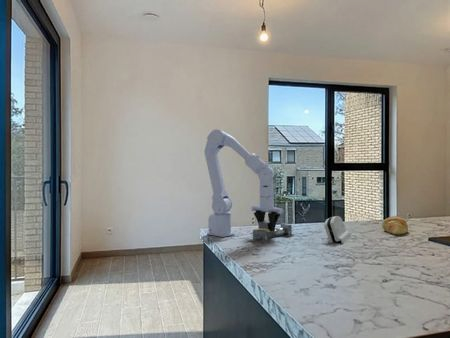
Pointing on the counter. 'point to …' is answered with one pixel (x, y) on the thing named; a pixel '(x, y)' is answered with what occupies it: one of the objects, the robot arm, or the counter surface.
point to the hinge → (336, 230)
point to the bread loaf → (395, 225)
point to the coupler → (266, 227)
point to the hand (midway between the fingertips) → (266, 229)
